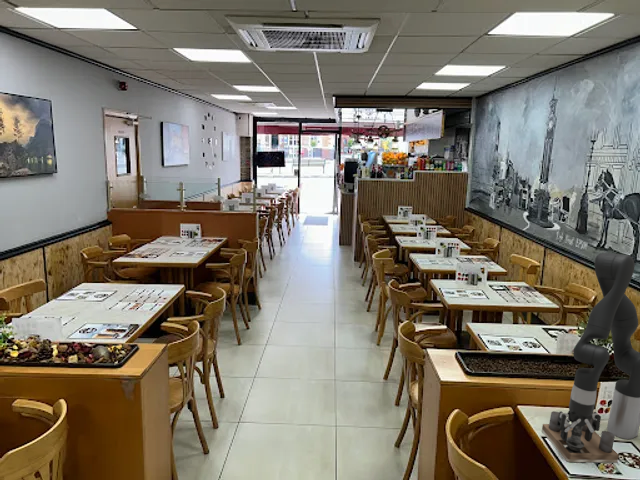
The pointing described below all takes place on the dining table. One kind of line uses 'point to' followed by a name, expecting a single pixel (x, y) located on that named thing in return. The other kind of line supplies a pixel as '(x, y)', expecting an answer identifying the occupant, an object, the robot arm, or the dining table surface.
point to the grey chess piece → (575, 440)
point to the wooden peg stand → (592, 450)
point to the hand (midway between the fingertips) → (575, 440)
